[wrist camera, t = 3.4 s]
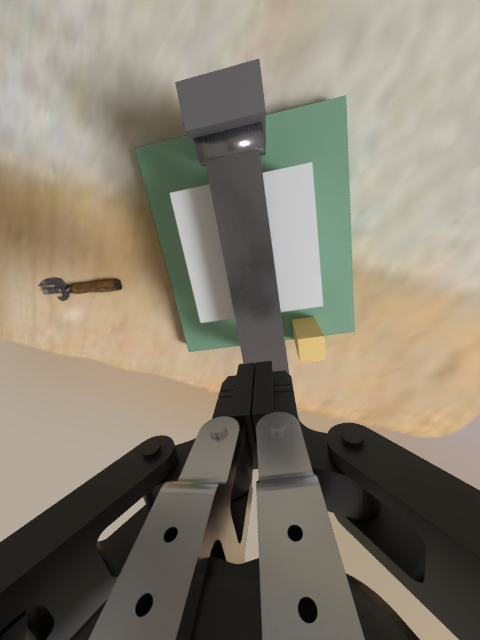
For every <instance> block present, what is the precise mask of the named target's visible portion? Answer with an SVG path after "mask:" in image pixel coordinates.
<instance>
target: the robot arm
mask: <svg viewBox="0 0 480 640" xmlns="http://www.w3.org/2000/svg"><path fill="white" fill-rule="evenodd" d="M253 469H258V472H259V481H257V484H256V490H257V491H256V492H257V517H258V541H259V558H258V559H255V560H252V561H249V562H246V563H245V547H246V540H247V532H248V524H249V516H250V508H251V501H252V493H253V488H252V472H253ZM142 497H143V498H144V500H145V503H146V505H145V506H144V507H143V508H141V509H140V510H139V511H138V512H137V513H136V514H134V515H133V516H132V517H131V518H130V519H129V520H128V521H126V522H125V523H124V524H123V525H122V526H121V527H120V528H118V529H117V530H116V531H115V532H114V533H113V534H112V535H111V536H109V537H108V538H107V539H105V540H103V541H99V542H98V541H97V540H98V538H99V536H100V534H101V533H102V532H103V531H104V530H105V529H106V528H107V527H108V526H109V525H110V524H111V523H113V522H114V521H115V520H116V519H117V518H118V517H120V516H121V515H122V514H123V513H124V512H126V511H127V510H128V509H129V508H130V507H131V506H133V505H134V504H135V503H136V502H137V501H138V500H140V498H142ZM328 511H329V512H333V513H334V514H335V516H336V518H337V520H338V521H339V522H340V524H341V525H342V526H343V527H345V529H346V530H347V531H348V532H349V533H350V534H352V535H353V536H354V537H355V538H356V539H357V540H358V541H359V542H360V543H361V544H362V545H363V546H364V547H365V548H366V549H367V550H368V551H369V552H370V553H371V554H372V555H373V556H374V557H375V558H376V559H377V560H378V561H379V562H380V563H382V564H383V566H385V568H386V569H387V570H388V571H389V572H391V574H392V575H394V576H395V577H396V578H397V579H398V580H399V581H400V582H401V583H402V584H403V585H404V586H405V587H406V588H407V589H408V590H409V591H410V592H411V593H412V594H413V595H414V596H415V597H416V598H417V599H418V600H419V601H420V602H421V603H422V604H423V605H424V606H425V607H427V609H428V610H429V611H430V612H432V613H433V615H434V616H436V617H437V618H438V619H439V620H440V621H441V622H442V623H443V624H444V625H445V626H446V627H447V628H448V629H449V630H450V631H451V632H452V633H453V634H454V635H455V636H456V637H457V638H458V639H459V640H480V490H478V489H476V488H474V487H473V486H471V485H469V484H467V483H465V482H464V481H462V480H460V479H458V478H456V477H455V476H453V475H451V474H449V473H447V472H446V471H444V470H442V469H440V468H438V467H437V466H435V465H433V464H431V463H429V462H428V461H426V460H424V459H422V458H421V457H419V456H417V455H415V454H413V453H412V452H410V451H408V450H406V449H404V448H403V447H401V446H399V445H397V444H396V443H394V442H392V441H390V440H388V439H387V438H385V437H383V436H381V435H379V434H378V433H376V432H374V431H372V430H371V429H369V428H367V427H365V426H362V425H360V424H355V423H342V424H338V425H335V426H334V427H332V428H331V429H330V430H329V431H328V433H322V432H317V431H314V430H311V429H309V428H307V427H306V426H304V425H303V424H302V423H301V422H300V421H299V419H298V415H297V409H296V403H295V397H294V391H293V385H292V379H291V376H290V375H289V374H288V373H287V372H286V371H285V370H283V371H274V368H273V362H272V361H263V362H256V364H255V363H246V364H239V366H238V371H237V375H236V376H228V377H227V379H226V380H225V381H224V382H223V383H222V386H221V389H220V393H219V396H218V400H217V403H216V407H215V410H214V414H213V417H212V419H211V420H209V421H208V422H206V423H205V424H204V425H203V426H202V427H201V429H200V430H199V432H198V435H197V437H196V438H195V439H193V440H191V441H188V442H185V443H182V444H179V445H174V442H173V440H172V439H171V438H170V437H168V436H155V437H152V438H150V439H147V440H146V441H144V442H142V443H141V444H140V445H138V446H137V447H135V448H134V449H133V450H131V451H130V452H128V453H127V454H125V455H124V456H122V457H121V458H120V459H119V460H117V461H115V462H114V463H112V464H111V465H110V466H108V467H107V468H105V469H104V470H103V471H101V472H100V473H98V474H97V475H95V476H94V477H93V478H91V479H90V480H88V481H87V482H85V483H84V484H83V485H81V486H80V487H78V488H77V489H75V490H74V491H73V492H71V493H70V494H68V495H67V496H65V497H64V498H63V499H61V500H60V501H58V502H57V503H56V504H54V505H53V506H51V507H50V508H49V509H47V510H46V511H44V512H43V513H41V514H40V515H38V516H37V517H36V518H34V519H33V520H31V521H30V522H29V523H27V524H26V525H24V526H23V527H21V528H20V529H19V530H17V531H16V532H14V533H13V534H12V535H10V536H9V537H7V538H6V539H4V540H3V541H1V542H0V640H420V639H419V638H418V637H417V636H416V635H415V634H414V632H413V631H412V630H411V629H410V628H409V627H408V626H407V624H406V623H405V622H404V621H403V620H402V619H401V618H400V616H399V615H398V614H397V613H396V612H395V611H394V610H393V609H392V608H391V607H390V606H389V605H388V604H387V603H386V602H385V601H384V600H383V599H382V598H381V597H380V596H379V595H378V594H377V593H375V592H374V591H373V590H371V589H370V588H369V587H368V586H366V585H365V584H364V583H362V582H360V581H359V580H357V579H356V578H354V577H352V576H350V575H348V574H346V573H345V570H344V566H343V563H342V560H341V556H340V553H339V549H338V546H337V542H336V539H335V535H334V532H333V529H332V525H331V522H330V518H329V515H328Z"/></svg>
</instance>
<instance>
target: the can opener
mask: <svg viewBox="0 0 480 640" xmlns="http://www.w3.org/2000/svg"><path fill="white" fill-rule="evenodd" d="M45 285H55V288H52V289H43V293H44V294H54V293H62V294H63V298H59V300H61V301H65V300H67V299H68V298H69V293H74V294H80V293H88V292H111V291H117V290H121V289H122V285H121V281H120V280H103V281H96V282H91V283H80V284H73V285H67V284H65V282H64V281H63V280H62V279H60V278H48V279H45V280H44V281H43V282H42V283H41V284H40V285H39V286H45Z"/></svg>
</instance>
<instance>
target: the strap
mask: <svg viewBox="0 0 480 640" xmlns="http://www.w3.org/2000/svg"><path fill="white" fill-rule="evenodd" d="M195 146H196V151H197V155H198V159H199V162H200V164H201V166H202V167H204V166H206V169H207V174H208V179H209V185H210V190H211V195H212V200H213V206H214V211H215V216H216V221H217V226H218V232H219V237H220V242H221V247H222V253H223V258H224V263H225V268H226V274H227V279H228V284H229V289H230V295H231V300H232V305H233V310H234V316H235V321H236V326H237V331H238V336H239V342H240V347H241V352H242V357H243V363H244V364H246V363H255V364H256V362H263V361H272V362H273V368H274V371H283V370H285V371H286V372H287V373H288V374H289V370H288V363H287V355H286V347H285V340H284V332H283V325H282V317H281V309H280V302H279V294H278V287H277V279H276V271H275V264H274V256H273V249H272V241H271V233H270V226H269V218H268V211H267V203H266V195H265V188H264V180H263V173H262V165H261V157H260V154H261V153H265V143H264V134H263V126H262V122H258V123H253V124H249V125H245V126H240V127H236V128H232V129H228V130H224V131H220V132H216V133H212V134H208V135H204V136H200V137H197V138H195Z"/></svg>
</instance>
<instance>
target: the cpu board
mask: <svg viewBox="0 0 480 640" xmlns="http://www.w3.org/2000/svg"><path fill="white" fill-rule="evenodd" d="M175 83H176V88H177V93H178V98H179V103H180V108H181V113H182V117H183V122H184V127H185V132H186V133H187V134H188V135H184V136H180V137H176V138H172V139H168V140H164V141H160V142H156V143H152V144H148V145H144V146H140V147H136V148H135V150H136V154H137V158H138V161H139V165H140V169H141V173H142V177H143V180H144V184H145V188H146V192H147V196H148V199H149V203H150V207H151V211H152V215H153V218H154V222H155V226H156V230H157V233H158V237H159V241H160V245H161V249H162V252H163V256H164V260H165V264H166V268H167V271H168V275H169V279H170V283H171V287H172V290H173V294H174V298H175V302H176V306H177V309H178V313H179V317H180V321H181V324H182V328H183V332H184V336H185V340H186V343H187V347H188V351H189V352H193V351H201V350H209V349H217V348H226V347H234V346H240V342H239V336H238V331H237V326H236V321H235V316H234V310H233V305H232V300H231V295H230V289H229V284H228V279H227V274H226V268H225V263H224V258H223V253H222V247H221V242H220V237H219V232H218V226H217V221H216V216H215V211H214V206H213V200H212V195H211V190H210V185H209V179H208V174H207V169H206V166H204V167H202V166H201V164H200V162H199V159H198V155H197V151H196V146H195V138H197V137H200V136H204V135H208V134H212V133H216V132H220V131H224V130H228V129H232V128H236V127H240V126H245V125H249V124H253V123H258V122H262V126H263V134H264V143H265V153H261V154H260V157H261V165H262V173H263V180H264V188H265V195H266V203H267V211H268V218H269V226H270V233H271V241H272V249H273V256H274V264H275V271H276V279H277V287H278V294H279V302H280V309H281V317H282V325H283V332H284V340H292V339H294V341H295V344H296V348H297V352H298V356H299V360H300V362H308V361H317V360H326V351H325V338H324V336H325V335H333V334H341V333H349V332H355V325H354V298H353V271H352V244H351V217H350V190H349V164H348V137H347V110H346V95H345V96H341V97H337V98H333V99H329V100H325V101H321V102H317V103H313V104H309V105H305V106H301V107H297V108H293V109H289V110H285V111H281V112H277V113H273V114H269V115H266V111H265V103H264V94H263V86H262V78H261V69H260V61H259V59H256V60H253V61H249V62H246V63H242V64H239V65H235V66H232V67H228V68H224V69H221V70H217V71H214V72H210V73H207V74H203V75H200V76H196V77H192V78H189V79H185V80H182V81H178V82H175Z"/></svg>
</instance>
